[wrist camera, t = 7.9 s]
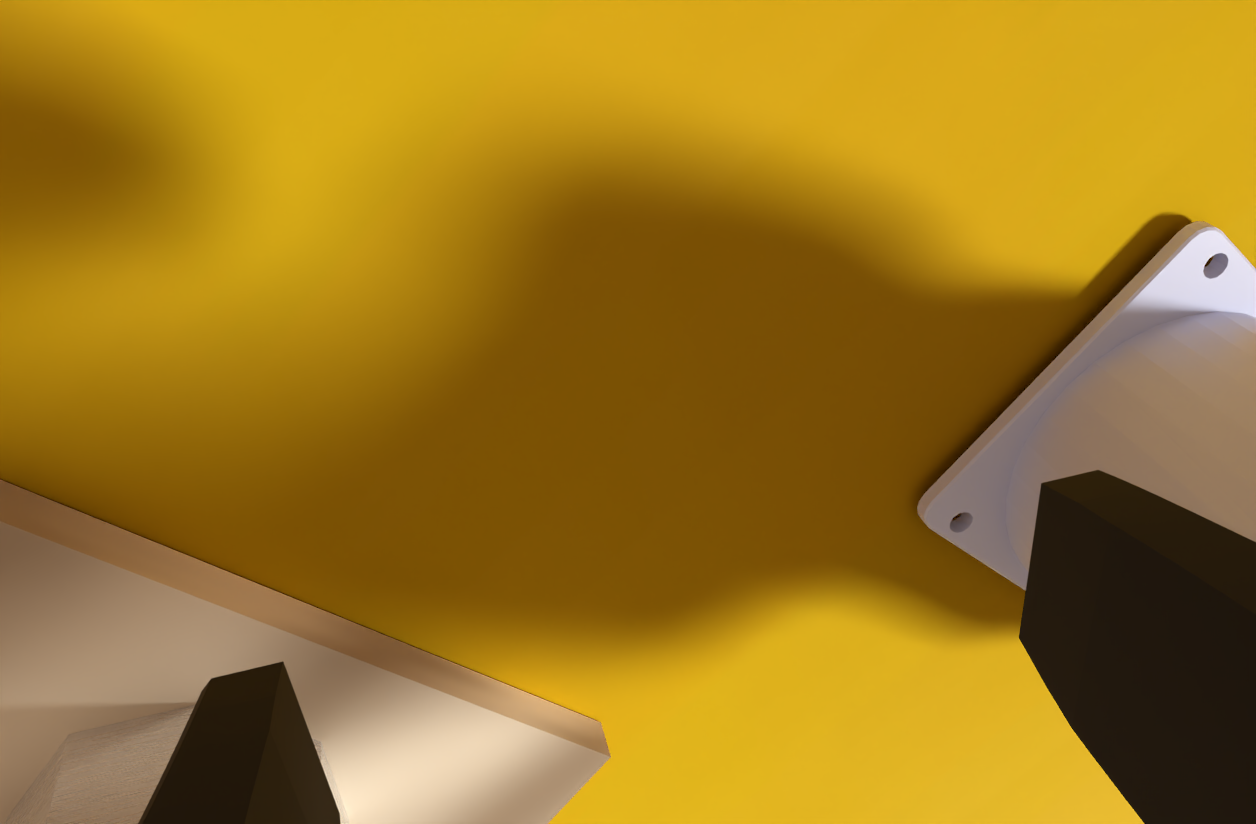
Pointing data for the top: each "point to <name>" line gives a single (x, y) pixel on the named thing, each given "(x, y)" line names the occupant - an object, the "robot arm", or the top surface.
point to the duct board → (249, 638)
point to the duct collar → (115, 773)
